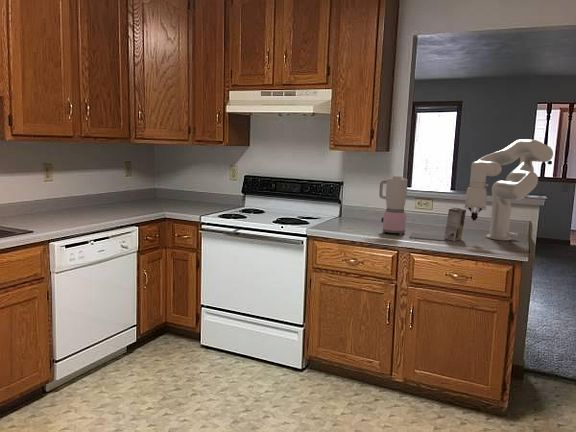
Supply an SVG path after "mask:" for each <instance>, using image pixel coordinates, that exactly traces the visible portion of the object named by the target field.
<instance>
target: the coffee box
mask: <svg viewBox="0 0 576 432" xmlns="http://www.w3.org/2000/svg"><path fill="white" fill-rule="evenodd" d="M447 212H448V214H447V219H446V225H445V231H444V232H445V233H444V235H445V236H444V239H445V240H448V241H453V242H456V241H459V240H461V239H462V236H463V231H464V224H465V219H466V213H467V209H463V208H459V207H453V208H448V211H447Z"/></svg>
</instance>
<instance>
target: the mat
mask: <svg viewBox="0 0 576 432" xmlns="http://www.w3.org/2000/svg"><path fill="white" fill-rule="evenodd" d="M444 236H445V234H435V233H422V232H413V231H411V233H410V235H409V239H414V240H415V239H416V240H417V239H418V240H428V241H437V242H438V241H439V242H445V240H446V239H444Z"/></svg>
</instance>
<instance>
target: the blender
mask: <svg viewBox="0 0 576 432" xmlns="http://www.w3.org/2000/svg"><path fill="white" fill-rule="evenodd" d="M408 181H409V179H407V178H404V177H403V176H402V175H392V177H388V178H386V180H382V181H380V183H379V198H380V199H383V200H385V202H386V210H385V211H384V212H383V217H381V220H380V222H381V223H383V224H382V233H383V234H386V233H389V234H390V233H391V234H398V235H399V236H402V235H404V234H405V233H406V221H407V216H406V213H405V205H406V202H407V196H408V194H407V193H408ZM384 184H386V187H385V195H383V191H384V190H383V189H384V188H383V187H384Z"/></svg>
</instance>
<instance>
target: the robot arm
mask: <svg viewBox="0 0 576 432" xmlns="http://www.w3.org/2000/svg"><path fill="white" fill-rule="evenodd" d="M553 156H554V151H553V149H552V147H551V146H549V145H547V144H545V143H543V142H541V141H539V140H536V139H527V138H525V139H522V138H521V139H516V140H515V141H513V142H512V143H510V144H509V145H508V146H506V147H504V148H503V149H501V150H499V151H498V150H497V151H494V152H493V153H490V154H486V155H484V156H482V157H480V158H479V159H478V160H476V161H473V162H472V163H471V167H470V178H469V187H467V190H466V193H465V202H464V203H465V205H464V209H465V210H469V211H470V212H471V214H470V215H471V216H470V219H472V221H475V222H476V220H478V216H479V213H480V212H482V211H486V210H487V195H488V194H487V188H486V187H489V183H486V182H487V176H488V177H495V176H496V177H497V176H498V175H500V173H502V166H506V165H510V164H512V163H513V162H515V161H517V160H518V159H520V160H519V161H520V162H519V164H518V165H517V167H515V168H514V169H513V170H512V171H511V172H509V174H508V175H507V176H506V178H505V180H497V181H495V182H494V183H493V185H492V186H491V196H492V198H491V199H492V206H491V214H490V217H491V218H490V226H489V227H490V228H489V233H488V234H486V238H487V239H490V240H497V241H511V240H512V237H515V238H518V236H519V233H518V232H511V231H510V223H511V212H512V204H511V201H510V200H512V201H521V200H523V199H524V198H526V197H527V196H528V195H529V194H530V193H531V192H532V191H533V190H534V189H535V188H536V187H537V185H538V182H539V177H538V175H537V173H536V172H535V168H534V165H533V162H536V163H537V162H540V163H546V162H550V161H551V160H552V158H553ZM474 208H476V209H475V210H474Z"/></svg>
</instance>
